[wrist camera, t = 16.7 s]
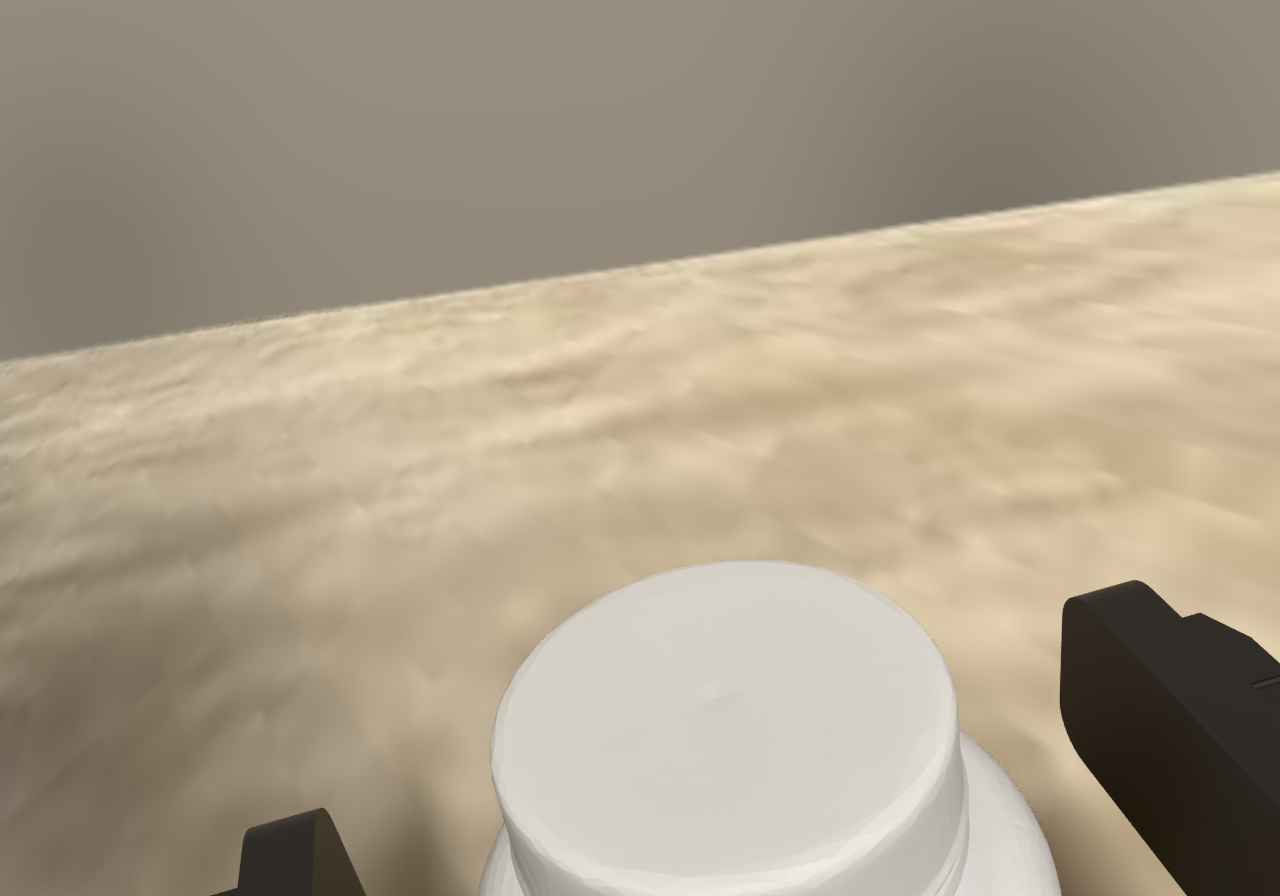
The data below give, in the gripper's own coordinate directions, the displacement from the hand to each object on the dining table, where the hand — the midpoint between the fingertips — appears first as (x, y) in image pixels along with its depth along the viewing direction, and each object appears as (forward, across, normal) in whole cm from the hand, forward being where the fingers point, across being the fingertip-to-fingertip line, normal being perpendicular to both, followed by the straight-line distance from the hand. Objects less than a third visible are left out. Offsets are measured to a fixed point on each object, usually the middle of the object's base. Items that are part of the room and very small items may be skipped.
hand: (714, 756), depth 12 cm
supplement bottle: (-2, 0, +8) cm, 8 cm away
